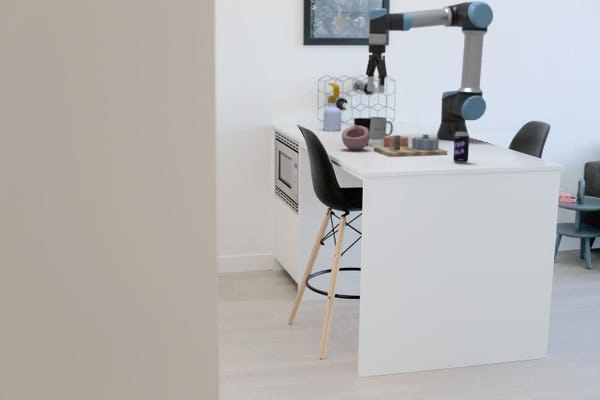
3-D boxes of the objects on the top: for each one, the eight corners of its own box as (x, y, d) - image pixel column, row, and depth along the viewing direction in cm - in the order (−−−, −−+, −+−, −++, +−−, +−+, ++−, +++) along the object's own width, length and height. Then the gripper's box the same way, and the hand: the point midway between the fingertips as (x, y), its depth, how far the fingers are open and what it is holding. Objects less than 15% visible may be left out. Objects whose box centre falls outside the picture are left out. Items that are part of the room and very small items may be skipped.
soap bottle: (332, 129, 451) (332, 82, 447) (344, 130, 445) (345, 83, 440) (319, 130, 445) (320, 83, 441) (332, 131, 439) (332, 83, 434)
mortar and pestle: (337, 151, 366) (338, 124, 364) (346, 147, 377) (347, 122, 375) (364, 152, 362) (365, 125, 359) (372, 149, 373) (373, 123, 370)
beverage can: (451, 161, 338) (453, 131, 336) (465, 161, 339) (467, 131, 337) (455, 163, 333) (456, 133, 330) (469, 163, 333) (471, 133, 331)
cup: (369, 146, 382) (369, 119, 380) (352, 145, 384) (352, 119, 382) (371, 144, 390) (371, 118, 388) (354, 143, 391) (355, 117, 389)
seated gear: (424, 146, 372) (424, 136, 371) (443, 149, 364) (444, 138, 363) (406, 148, 365) (407, 138, 364) (425, 151, 357) (426, 140, 356)
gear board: (428, 149, 375) (429, 132, 373) (447, 154, 358) (447, 137, 356) (373, 150, 367) (374, 133, 366) (389, 156, 351) (390, 138, 349)
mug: (369, 139, 408) (370, 118, 406) (366, 137, 416) (367, 117, 414) (394, 139, 409) (395, 118, 407) (391, 137, 417) (391, 117, 416)
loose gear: (402, 145, 387) (402, 135, 386) (412, 148, 376) (412, 138, 375) (379, 146, 384) (379, 136, 383) (388, 149, 373) (389, 139, 372)
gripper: (359, 43, 388) (358, 90, 392) (379, 44, 364) (377, 94, 368) (375, 43, 390) (373, 90, 394) (395, 44, 366) (393, 93, 370)
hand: (375, 92), depth 381 cm, fingers open, 13 cm apart
